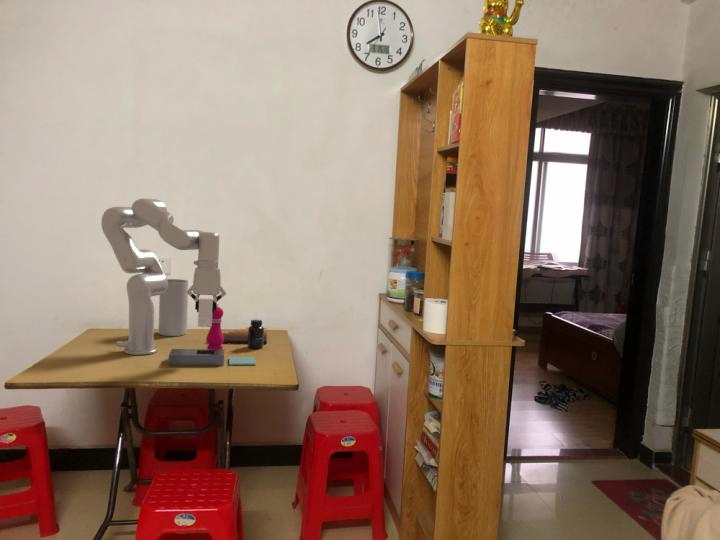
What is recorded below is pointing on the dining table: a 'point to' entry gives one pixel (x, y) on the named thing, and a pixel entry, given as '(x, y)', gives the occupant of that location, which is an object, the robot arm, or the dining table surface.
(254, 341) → the supplement bottle
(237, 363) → the teal mat
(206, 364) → the rail
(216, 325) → the pepper mill
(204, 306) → the steel peg
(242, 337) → the pan flute
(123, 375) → the dining table surface
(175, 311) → the cylinder vase
